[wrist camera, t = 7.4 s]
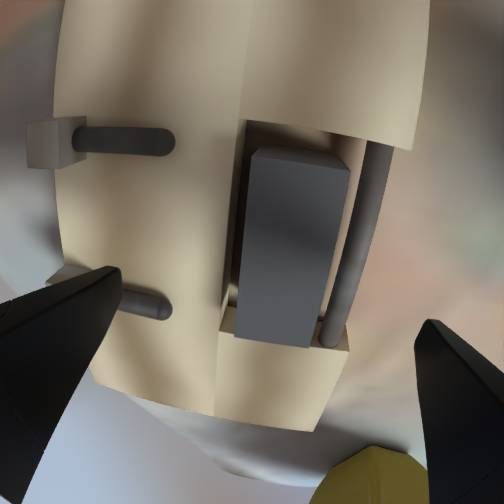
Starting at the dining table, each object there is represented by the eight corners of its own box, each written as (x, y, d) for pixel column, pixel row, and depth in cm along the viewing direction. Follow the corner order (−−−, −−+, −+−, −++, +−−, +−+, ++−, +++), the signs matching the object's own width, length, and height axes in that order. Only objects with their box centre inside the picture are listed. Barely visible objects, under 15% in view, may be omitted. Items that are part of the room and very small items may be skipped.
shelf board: (413, -10, 8) (449, -40, 5) (313, 406, 19) (312, 456, 15) (96, -23, 9) (47, -42, 6) (107, 362, 20) (82, 401, 16)
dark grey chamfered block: (337, 153, 12) (350, 171, 9) (308, 299, 15) (308, 348, 12) (263, 142, 13) (251, 155, 9) (247, 290, 16) (233, 337, 13)
